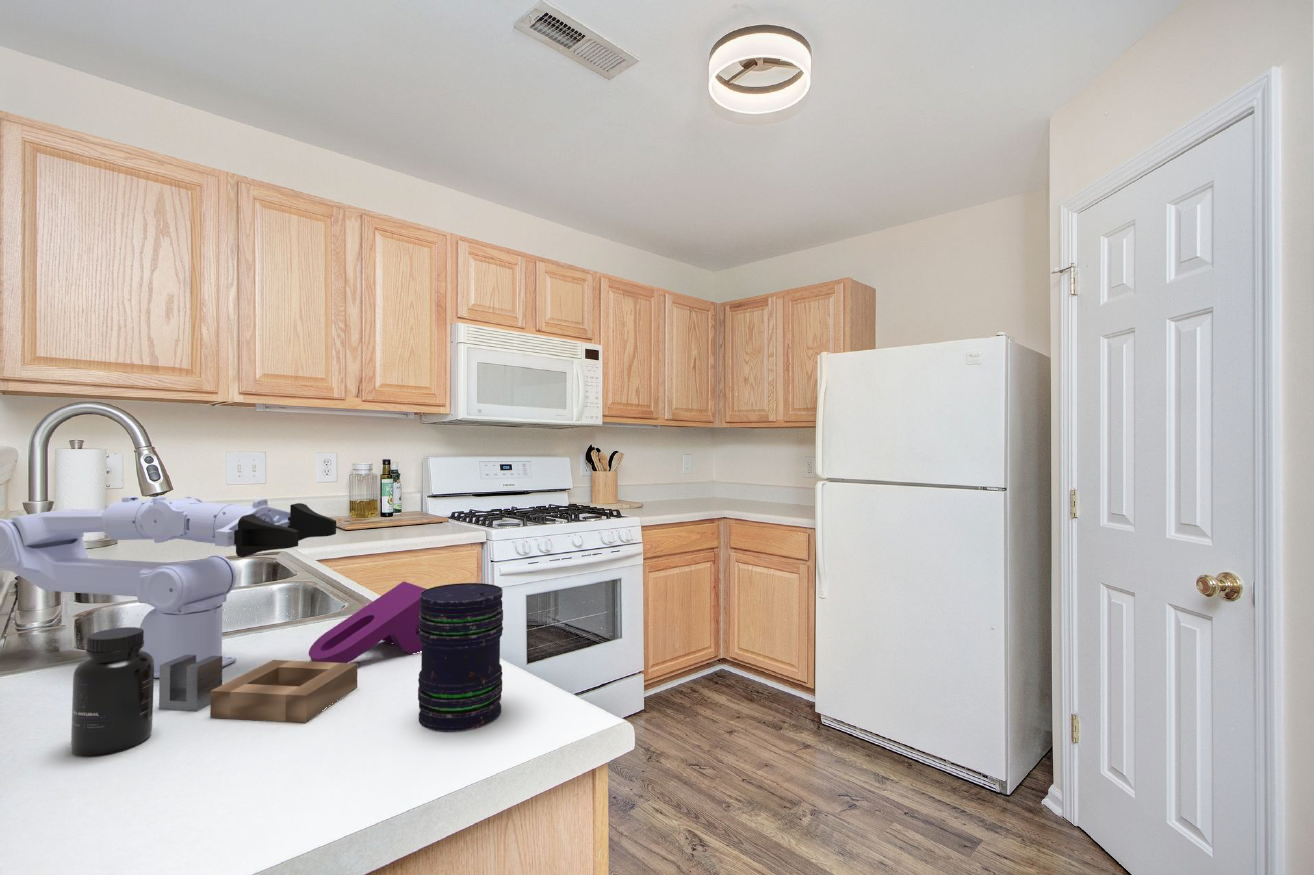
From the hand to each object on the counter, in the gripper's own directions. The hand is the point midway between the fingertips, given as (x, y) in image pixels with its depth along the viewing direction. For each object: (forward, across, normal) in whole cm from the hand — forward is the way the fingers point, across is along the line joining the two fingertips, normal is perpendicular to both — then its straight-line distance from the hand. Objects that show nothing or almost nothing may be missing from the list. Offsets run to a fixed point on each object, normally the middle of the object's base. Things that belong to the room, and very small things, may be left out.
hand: (316, 533), depth 90 cm
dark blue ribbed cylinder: (+26, -8, +19) cm, 33 cm away
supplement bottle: (-8, -22, +20) cm, 30 cm away
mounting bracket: (+3, +10, +21) cm, 24 cm away
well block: (+3, -9, +20) cm, 22 cm away
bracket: (-8, -12, +20) cm, 25 cm away
